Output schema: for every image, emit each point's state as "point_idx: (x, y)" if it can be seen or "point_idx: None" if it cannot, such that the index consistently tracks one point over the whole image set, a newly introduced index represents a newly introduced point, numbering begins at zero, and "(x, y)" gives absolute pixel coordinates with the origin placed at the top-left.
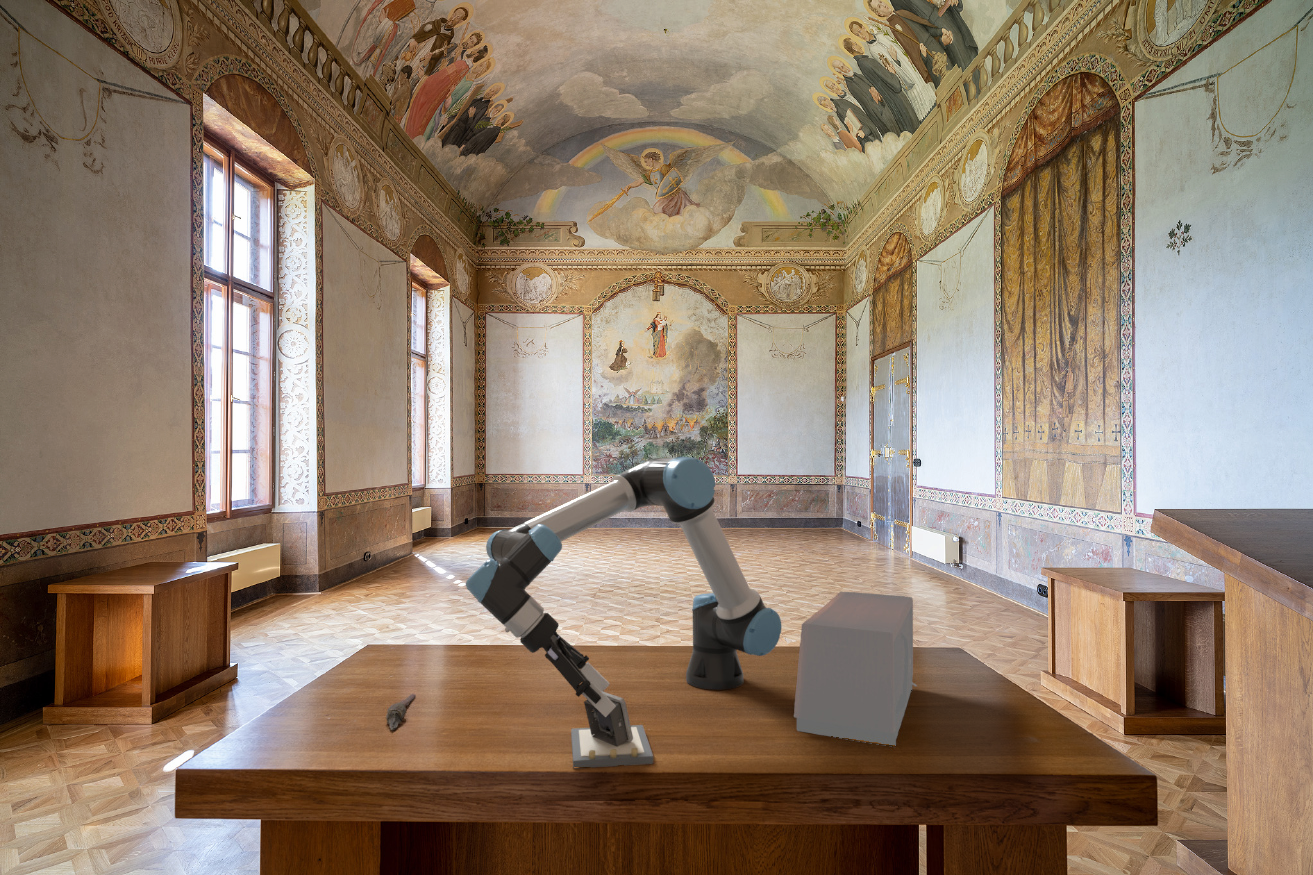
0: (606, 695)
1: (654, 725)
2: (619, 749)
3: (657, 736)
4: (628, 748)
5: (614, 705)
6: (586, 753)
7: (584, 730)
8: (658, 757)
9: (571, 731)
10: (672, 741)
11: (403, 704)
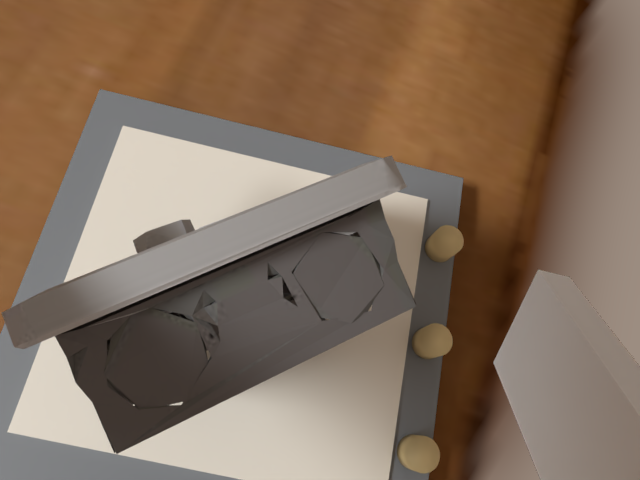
0: (237, 256)
1: (61, 35)
2: None
3: (191, 73)
4: None
5: (571, 284)
6: (363, 471)
7: (34, 399)
8: (399, 151)
9: None
10: (267, 44)
11: None
